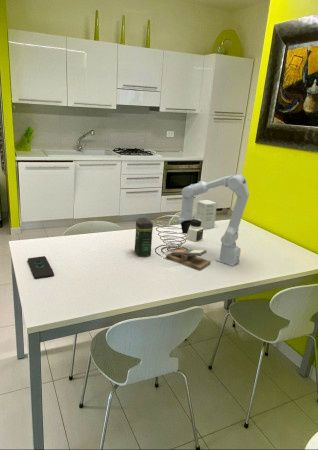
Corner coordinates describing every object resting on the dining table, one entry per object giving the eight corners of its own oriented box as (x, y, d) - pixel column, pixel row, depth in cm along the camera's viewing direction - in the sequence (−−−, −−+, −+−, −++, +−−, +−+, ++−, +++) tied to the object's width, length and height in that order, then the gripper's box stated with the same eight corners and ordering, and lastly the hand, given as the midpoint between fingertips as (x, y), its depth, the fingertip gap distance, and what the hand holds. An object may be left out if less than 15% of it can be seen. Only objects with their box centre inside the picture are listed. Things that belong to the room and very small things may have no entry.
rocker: (206, 254, 168) (206, 249, 167) (200, 257, 163) (199, 253, 163) (178, 253, 178) (177, 249, 178) (171, 256, 174) (170, 252, 173)
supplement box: (214, 227, 224) (217, 203, 218) (203, 229, 219) (206, 204, 214) (205, 223, 231) (208, 199, 226) (194, 225, 227) (197, 200, 221)
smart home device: (45, 255, 164) (54, 273, 147) (45, 258, 164) (55, 277, 148) (27, 258, 160) (34, 276, 144) (27, 261, 160) (34, 280, 144)
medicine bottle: (196, 242, 197) (198, 222, 193) (185, 239, 201) (187, 219, 197) (202, 239, 203) (204, 220, 199) (192, 236, 207) (194, 217, 203)
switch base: (210, 264, 170) (211, 255, 169) (199, 270, 162) (200, 261, 161) (176, 252, 181) (177, 244, 180) (165, 258, 173) (166, 249, 172)
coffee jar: (152, 256, 174) (155, 222, 168) (137, 257, 171) (139, 222, 165) (147, 249, 183) (149, 216, 177) (132, 250, 180) (134, 216, 174)
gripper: (188, 204, 186) (185, 228, 191) (172, 209, 175) (170, 234, 179) (199, 207, 182) (196, 231, 187) (184, 212, 171) (182, 238, 175)
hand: (184, 233), depth 183 cm, fingers closed
